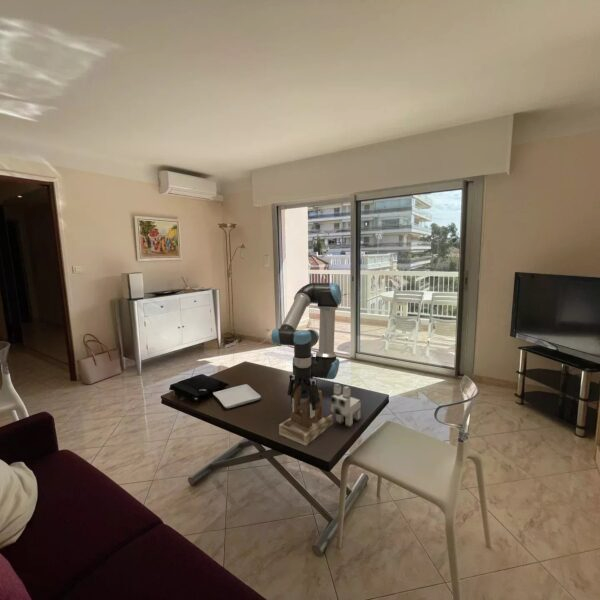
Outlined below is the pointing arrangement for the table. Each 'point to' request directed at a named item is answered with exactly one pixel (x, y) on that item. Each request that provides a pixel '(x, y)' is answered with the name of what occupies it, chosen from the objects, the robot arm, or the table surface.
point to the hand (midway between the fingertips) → (303, 413)
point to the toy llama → (345, 405)
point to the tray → (304, 430)
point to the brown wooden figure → (304, 407)
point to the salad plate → (237, 396)
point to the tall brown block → (318, 409)
